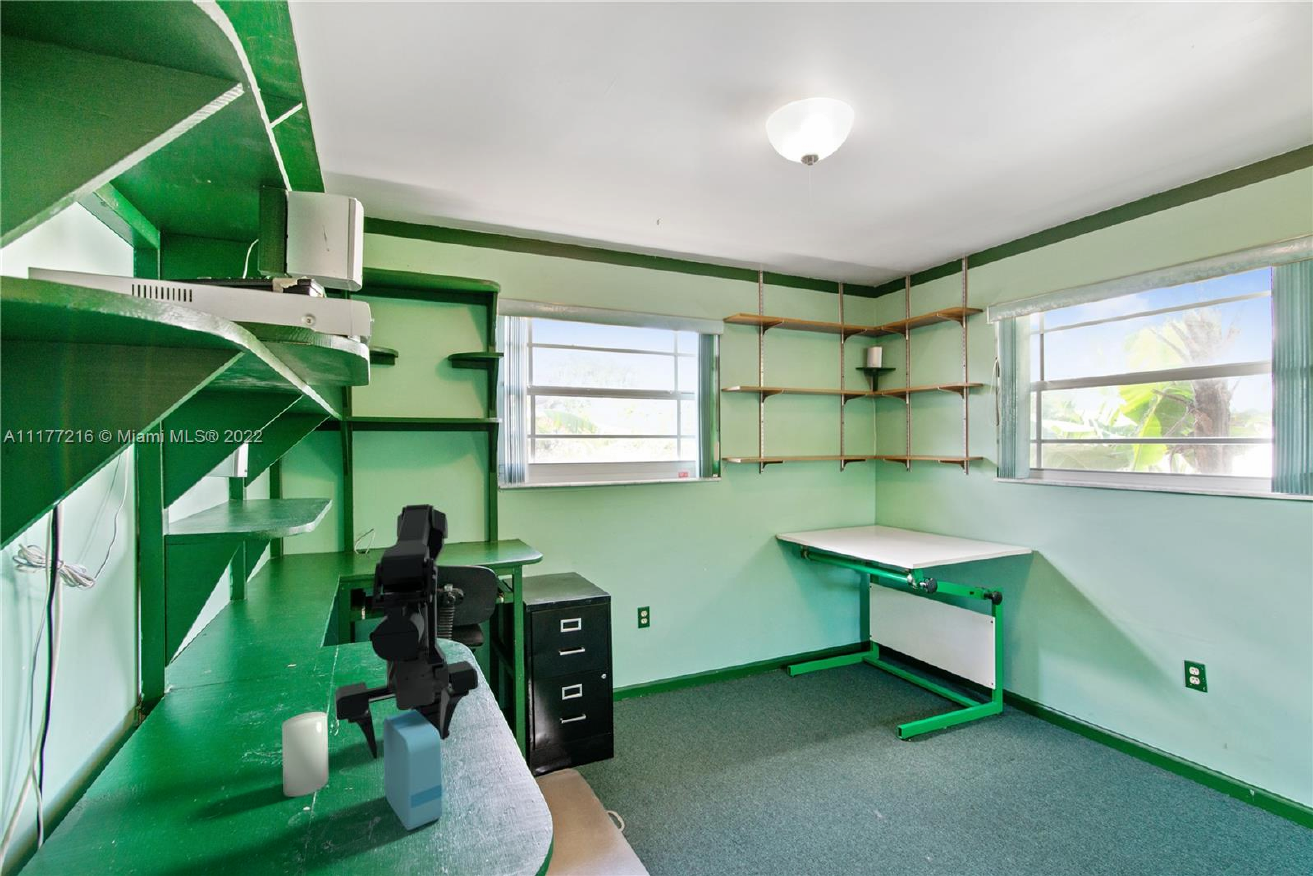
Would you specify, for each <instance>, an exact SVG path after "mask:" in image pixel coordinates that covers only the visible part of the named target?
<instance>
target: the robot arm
mask: <svg viewBox="0 0 1313 876" xmlns="http://www.w3.org/2000/svg"><path fill="white" fill-rule="evenodd" d="M448 526H449V525H448V518H447V514H446V513H445V512H442V511H439V510H437V509H435V507H434V504H433V505H430V504H429V503H424V504H408V505H406V506H403V507H402V508H401V513H400V514H399V515H397V518H396V537H397V538H396V543H395V544H394V545H392V546H389V547H386V548H385V550H384V551H383V553H382V556H381V557H380V562H376V564H375V570H374V579H373V587H372V588H373V589H372V597H371V609H380V608H383V617H382V618H381V621H380V622H379V623H378V625H377V626H376V628H375V629H374V631H373V634H372V637H371V645H372V646H371V647H372V649H373V651H374V653H375V655H377V656H378V658H380V659H382V660H384V661H385V663H386V664H385V665H386V685H380V686H375V687H372V688H368V686H367V683H366V681H362V682H361V681H360V682H357V683H352V684H348V685H342V686H338V687H337V689H336V690H335V692H334V709H335V719H336V720H337V721H344V720H346V721H347V723H348V724H355V723H356V724H357V725H358V726H359V728H360V729H361V731H362V732H363V735H364V737H365V739H366V742H367V745H368V746H369V747H368V748H369V750H370V752H371V755H372V756H373V757H372V758H373V759H377V758H378V747H377V741H376V734H375V730H374V728H375V727H374V723H373V716H372V711H371V708H370V704H372V703H376V702H380V701H386V700H390V699H394V700H395V704H396V708H397V710H399V711H403V712H405V711H412V710H417V711H418V712H419V713H420V714H421V715H422V716H423V717H424V718H425V719H427V720H428V721H429V722H430V723H431V724H432V725H433V726H434V727H435V728H436V729H437V730H438V732H439V735H440V739H442V740H441V741H443V740H444V741H445V740H446V738H447V737H449V736H450V735H451V734H450V733H451V732H450V730H449V728H450V726H451V721H452V718H453V715H454V713H455V711H456V708H457V705H458V703H459V702H460V701H461V700H462V698H465V697H468V696H469V695H470V691H472V690H476V689H477V688H479V676H478V671H477V670H476V668H475V667H474V666H473V665H472V664H471V663H470V662H469V661H468V660H461V661H457V662H453V663H448V661H447V656H446V653H445V652H444V651H443V649H442V648H441V646H440V645H439V643H438V629H437V628H438V623H437V622H438V620H437V619H438V618H437V617H438V615H437V614H438V610H437V609H438V607H437V586H438V585H437V584H438V572H439V571H438V565H437V561H438V559H439V558H440V556H441V554H442V553H443V551H444V549H445V539H448V536H449V535H448V534H449V527H448ZM381 593H382V594H381Z"/></svg>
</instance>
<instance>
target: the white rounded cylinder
mask: <svg viewBox="0 0 1313 876" xmlns="http://www.w3.org/2000/svg"><path fill="white" fill-rule="evenodd" d="M281 728H282V729H281V732H282V733H281V735H282V737H281V738H282V739H281V740H282V781H283V782H282V784H283V786H282V787H283V792H284V793H283V795H284V794H285V795H284V796H285V797H288V798H289V797H292V798H297V797H303V796H306V795H309V794H314V793H315V792H318V791H319V790H321V789H322V787H323V788H324V787H325V786H326V785H327V784H328V783H329V780H330V779H329V747H328V746H329V743H328V739H329V738H328V734H329V733H328V714H327V713H326V712H324V711H311V712H305V713H301V714H298V715H296V716H292V717H290V718H288V719H287V720H285V721H284V722H283V723H282V725H281ZM328 779H329V780H328ZM327 782H328V783H327ZM326 783H327V784H326ZM325 784H326V785H325ZM317 790H318V791H317Z"/></svg>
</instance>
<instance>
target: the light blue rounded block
mask: <svg viewBox="0 0 1313 876" xmlns="http://www.w3.org/2000/svg"><path fill="white" fill-rule="evenodd" d="M382 725H383V726H382V727H383V763H384V764H383V767H384V768H383V771H384V772H383V773H384V792H385V797H386V801H387V802H388V804H389V806H390V807H391V809H392V810H393V812H394V813H395V814H396V816H397V817H398V819H399V820H400V822H401V824H402V825H403V827H404V829H405V830H406V831H411V830H414V829H416V828H419V827H422V826H423V825H426V824H429V823H430V822H433V821H436V820H438V819H440V818H442V816H443V812H444V804H443V803H444V802H443V799H444V798H443V767H442V761H443V760H442V740H441V739H442V738H440V735H439V732H438V730H437V729H436V728H435V727H434V726H433V725H432V724H431V723H430V722H429V721H428V720H427V719H425V718H424V717H423V716H422V715H421V714H420V713H419V712H418V711H417V710H412V711H410V710H407V711H406V712H405V711H404V712H402V713H399V714H394V715H392V716H387V717H385V719H384V720H383V724H382Z"/></svg>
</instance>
